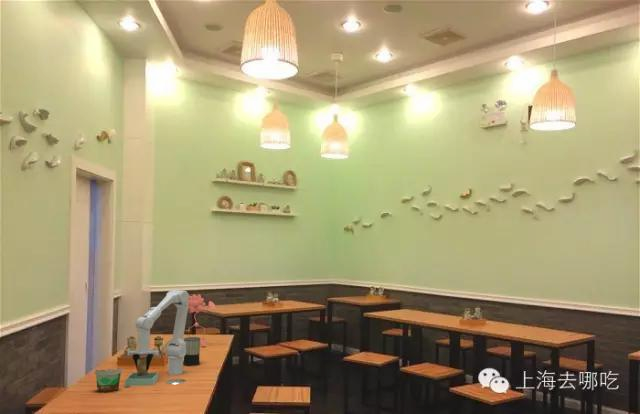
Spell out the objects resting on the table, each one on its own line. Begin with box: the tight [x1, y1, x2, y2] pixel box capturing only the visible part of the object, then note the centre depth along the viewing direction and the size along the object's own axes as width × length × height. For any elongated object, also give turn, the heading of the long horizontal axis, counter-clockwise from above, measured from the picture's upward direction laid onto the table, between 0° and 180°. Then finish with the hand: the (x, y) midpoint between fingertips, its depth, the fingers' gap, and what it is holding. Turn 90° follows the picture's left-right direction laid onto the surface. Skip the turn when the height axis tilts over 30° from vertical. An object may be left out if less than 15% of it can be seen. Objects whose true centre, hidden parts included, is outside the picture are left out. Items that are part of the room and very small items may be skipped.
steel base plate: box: [164, 378, 187, 385], centre depth 278 cm, size 10×10×1 cm
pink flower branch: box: [187, 293, 216, 347], centre depth 370 cm, size 15×26×35 cm, turn 88°
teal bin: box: [124, 371, 160, 388], centre depth 277 cm, size 13×13×4 cm
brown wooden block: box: [136, 356, 149, 376], centre depth 277 cm, size 5×6×8 cm
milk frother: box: [183, 336, 202, 367], centre depth 319 cm, size 14×16×15 cm
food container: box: [94, 367, 123, 393], centre depth 263 cm, size 12×6×10 cm, turn 105°
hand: (142, 370), depth 277 cm, fingers closed on brown wooden block, 4 cm apart
